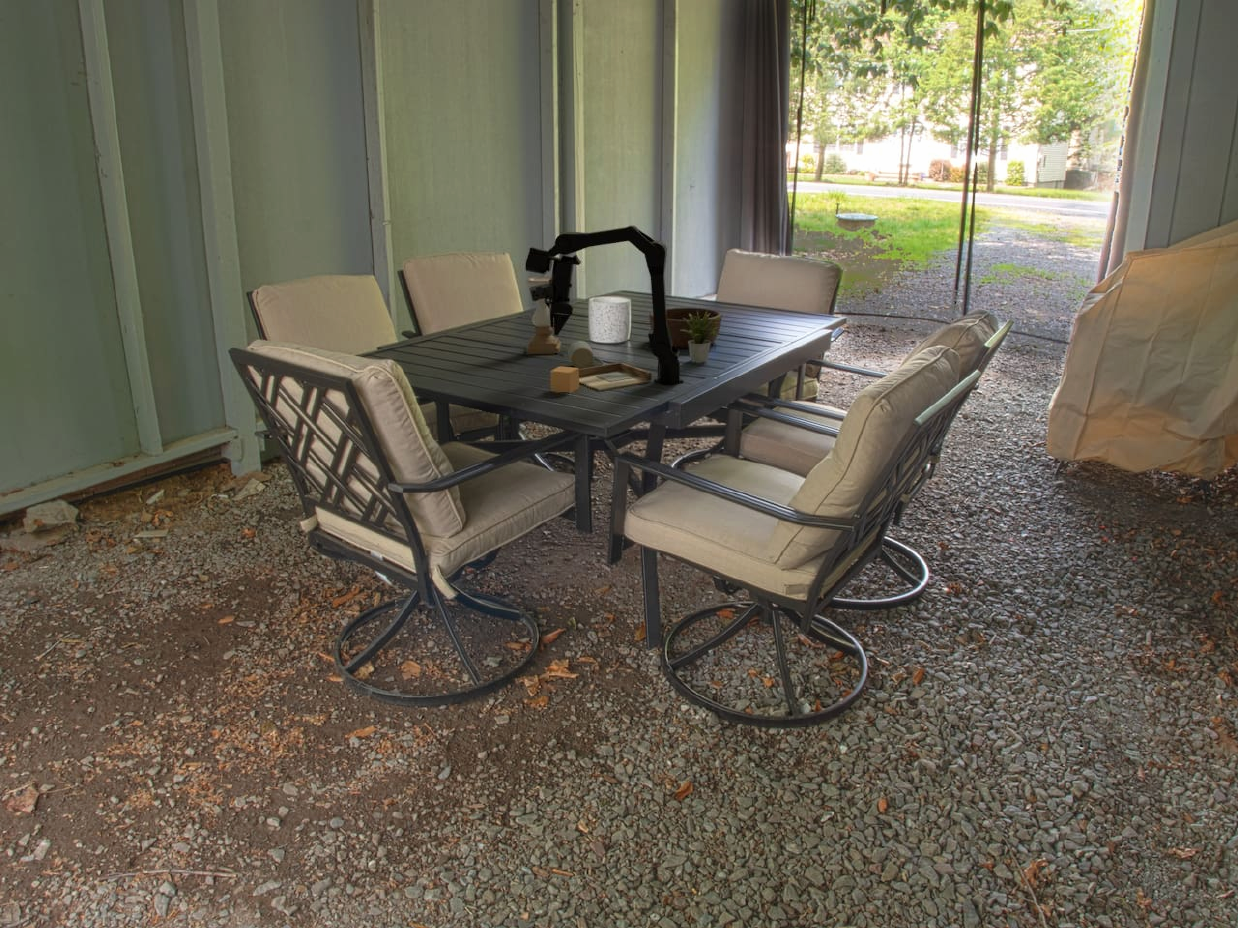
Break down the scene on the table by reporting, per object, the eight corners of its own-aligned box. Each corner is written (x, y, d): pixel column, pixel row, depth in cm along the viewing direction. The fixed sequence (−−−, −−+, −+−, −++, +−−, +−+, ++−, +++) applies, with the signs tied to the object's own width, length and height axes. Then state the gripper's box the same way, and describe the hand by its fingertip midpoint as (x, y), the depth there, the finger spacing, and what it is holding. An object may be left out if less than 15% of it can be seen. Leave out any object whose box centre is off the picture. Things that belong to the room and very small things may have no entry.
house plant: (720, 368, 268) (721, 315, 263) (675, 366, 271) (676, 314, 266) (724, 357, 282) (725, 307, 276) (681, 356, 284) (682, 306, 279)
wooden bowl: (732, 340, 308) (733, 310, 304) (700, 353, 288) (701, 322, 284) (670, 333, 320) (671, 305, 317) (635, 345, 300) (635, 316, 297)
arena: (651, 381, 254) (651, 372, 253) (599, 391, 244) (599, 381, 243) (620, 371, 266) (620, 362, 265) (570, 379, 257) (569, 370, 256)
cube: (579, 388, 248) (578, 368, 246) (570, 393, 243) (569, 372, 241) (560, 386, 250) (559, 366, 248) (551, 392, 245) (550, 371, 243)
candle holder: (559, 354, 289) (556, 281, 281) (526, 354, 289) (522, 281, 281) (561, 346, 299) (559, 276, 291) (529, 347, 299) (526, 276, 291)
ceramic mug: (571, 371, 267) (571, 346, 264) (567, 364, 274) (567, 340, 272) (605, 369, 269) (605, 345, 266) (601, 363, 276) (601, 339, 274)
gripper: (530, 267, 254) (523, 320, 259) (536, 280, 237) (529, 336, 242) (568, 272, 256) (560, 324, 262) (576, 285, 239) (568, 340, 245)
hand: (554, 331), depth 253 cm, fingers open, 9 cm apart
